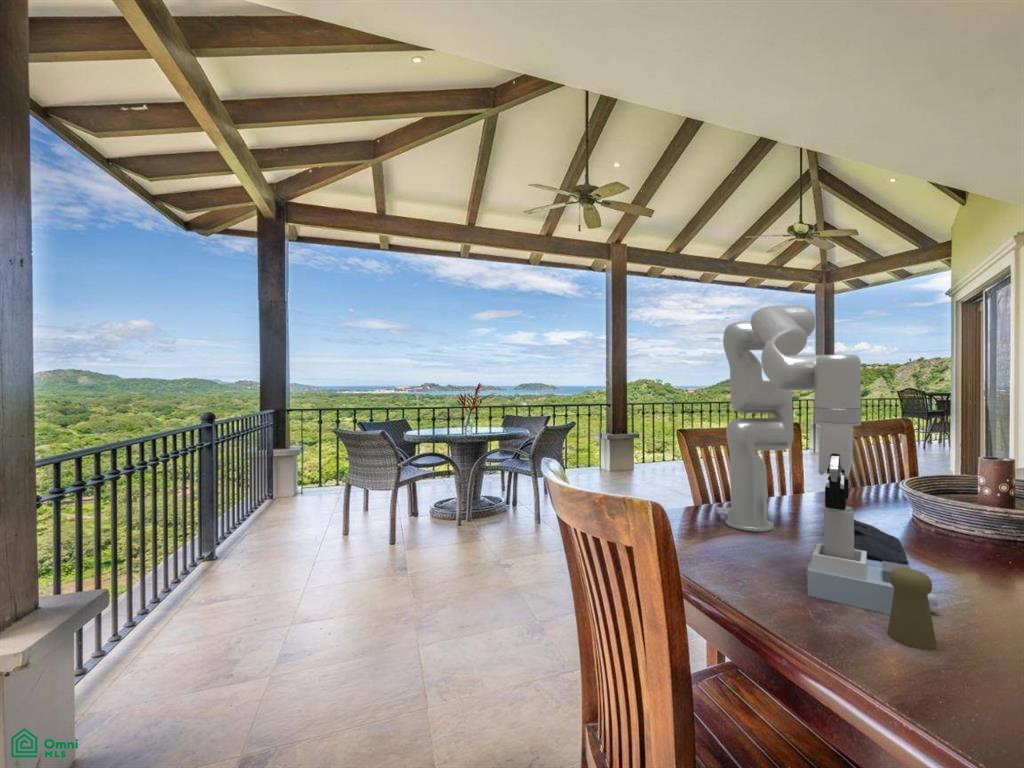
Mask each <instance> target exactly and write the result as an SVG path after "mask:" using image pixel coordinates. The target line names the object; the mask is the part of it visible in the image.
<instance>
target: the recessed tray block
mask: <svg viewBox="0 0 1024 768" xmlns="http://www.w3.org/2000/svg"><path fill="white" fill-rule="evenodd" d="M881 561H882V564H881V565H882V567H879V566H875V565H869V564H868V557H867V551H862V550H856V549H854V560H849V559H843V558H838V557H832V556H826V555H825V543H820V542H818V543H816V546H815V547H814V550H813V553H812V556H811V559H810V562H809V564H808V567H807V569H806V572H807V576H806V578H807V585H806V586H807V596H808V597H811V596H812V597H811V598H815V597H816V599H819V600H820V599H821V600H825V601H829V602H834V603H839V604H842V605H847V606H851V607H855V608H859V609H864V610H867V609H868V611H873V612H877V613H882V614H885V615H888V616H890V613H891V607H892V600H893V594H894V587H893V586H892V585H891V582H890V573H891V571H892V570H893V569H895V568H909V569H911V565H909V564H898V563H892V562H887V561H883V560H881ZM928 601H929V606H932V607H938V606H939V605H938V595H937V594H936V593H935V594H934V593H932V592H931V593H929V594H928Z"/></svg>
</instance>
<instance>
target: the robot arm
mask: <svg viewBox="0 0 1024 768" xmlns="http://www.w3.org/2000/svg"><path fill="white" fill-rule="evenodd" d="M816 320H817V319H816V316H815V313H814V312H813V310H812V309H810V308H809V307H807V306H806V305H802V304H801V305H800V304H796V305H795V304H794V305H770V306H769V305H767V306H763V307H761V308H759V309H757V310H756V311H755V312H754V313H753V314H752V316H751V317H750V320H741V321H735V322H732V323H729V324H728V325H727V326H726V327H725V329H724V331H723V336H722V338H723V339H722V340H723V341H722V343H723V349H724V350H723V351H724V354H725V356H726V359H727V361H728V362H727V363H728V366H729V382H730V384H729V386H730V389H729V390H730V403H731V407H732V410H734V411H735V412H737V413H741V414H769V416H770V417H739V418H735V419H732V420H731V421H729V422H728V423H727V425H726V430H725V435H726V440H727V445H728V452H729V465H730V466H729V467H730V469H729V470H730V471H729V474H730V475H729V477H730V479H729V481H730V507H727V508H725V507H720V506H716V507H715V513H716V514H718V515H720V516H726V518H725V519H724V520H725V521H724V522H725V524H726V526H729V527H730V528H733V529H738V530H741V531H742V530H743V531H748V532H769V531H772V530H774V527H775V526H774V525H775V524H774V523H773V522H772V521H770V520H768V487H767V486H768V483H767V482H768V479H767V478H768V474H767V465H766V463H765V461H764V460H763V459H762V457H761V456H760V455H759V454H758V452H760V451H761V452H762V451H785V450H788V449H790V448H791V447H792V445H793V442H794V415H793V414H794V412H793V411H794V409H793V407H794V406H793V396H792V392H791V391H814V395H813V396H814V401H813V402H814V403H813V404H814V407H813V409H814V412H813V413H814V416H813V417H814V420H813V421H814V424H815V425H820V427H819V441H818V444H819V445H818V471H817V472H818V474H819V475H820V476H823V475H824V474H826V483H825V487H824V508H825V507H826V508H831V509H839V510H845V509H846V506H847V505H846V503H847V502H846V501H847V499H849V478H848V477H849V476H850V474H851V468H852V462H853V454H854V453H853V449H854V447H853V446H854V427H858V426H862V407H861V406H862V382H861V381H862V362H861V359H860V357H859V356H857V355H855V354H847V353H846V354H839V353H838V354H799V353H801V352H802V351H803V350H804V348H805V347H806V345H807V343H808V337H810V336H811V334H813V332H814V331H815V328H816V324H817V323H816V322H817V321H816ZM752 351H762V352H761V358H760V359H761V362H760V359H759V358H758V357H757V356H756V355H755V354H754V353H753V352H752ZM763 373H764V375H765V376H766V377H767V379H768V380H764V379H763Z"/></svg>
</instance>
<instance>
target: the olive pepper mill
mask: <svg viewBox="0 0 1024 768" xmlns="http://www.w3.org/2000/svg"><path fill="white" fill-rule="evenodd" d="M890 582H891V585H892V586H893V587H894V594H893V600H892V607H891V613H890V615H889V619H888V620H889V621H888V628H887V635H888V636H889V638H890V639H892V640H893V639H894V640H893V641H895V642H897V643H899V644H901V643H902V644H901V645H905V646H906V645H907V646H906V647H910V648H914V649H918V650H934V649H936V648H937V647H938V646H937V645H938V644H937V639H936V634H935V629H934V623H933V617H932V612H931V607H930V606H931V605H929V601H928V594H929V593H931V594H932V590H933V583H932V579H931V577H929V575H927V574H926V573H924V572H922V571H920V570H917V569H913V568H910V569H909V568H895V569H893V570H892V571H891V573H890Z"/></svg>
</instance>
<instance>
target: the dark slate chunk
mask: <svg viewBox="0 0 1024 768" xmlns="http://www.w3.org/2000/svg"><path fill="white" fill-rule="evenodd" d="M854 549H856V550H862V551H867V558H869V559H874V560H879V561H887V562H892V563H898V564H904V565H909V560H908V557H907V554H906V552H905V549H904V548H903V546H902V542H901V541H900V538H897V537H896V536H894V535H890V534H889V533H886V532H884V531H882V530H880V529H879V528H878V527H875V526H873V525H870V524H867V523H865V522H862V521H860V520H856V519H854Z"/></svg>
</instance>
